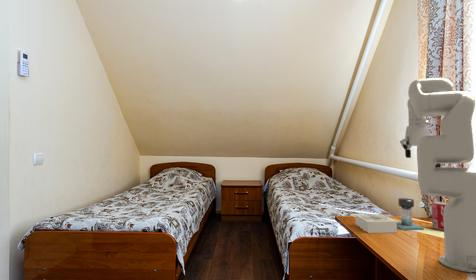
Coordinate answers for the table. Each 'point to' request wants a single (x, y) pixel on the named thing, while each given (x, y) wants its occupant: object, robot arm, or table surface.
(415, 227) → the pad
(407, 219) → the handwheel peg
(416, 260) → the table surface
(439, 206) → the soda can
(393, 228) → the block
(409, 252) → the table surface
